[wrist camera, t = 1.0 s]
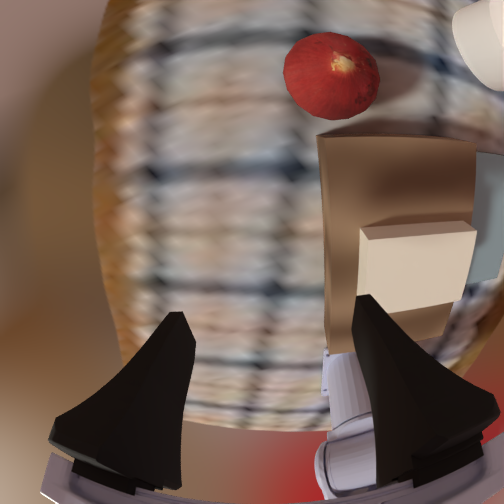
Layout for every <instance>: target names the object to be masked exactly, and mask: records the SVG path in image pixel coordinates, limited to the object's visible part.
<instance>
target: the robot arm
mask: <svg viewBox="0 0 504 504" xmlns="http://www.w3.org/2000/svg"><path fill="white" fill-rule="evenodd" d="M351 331H352V336H353V342H354V347H355V351H356V352H349V353H341V354H332V355H329V353H328V347H327V348H325V349H324V355H323V372H322V387H321V395H322V396H329V403H330V413H331V424H332V431H329V432H327V441H325V442H323V443H321V445H320V447H319V448H318V450H317V452H316V455H315V473H316V478H317V481H318V484H319V486H320V488H321V489H322V491H323V494H324V497H325V500H321V501H314V502H304V503H291V504H482V503H483V502H485V501H486V500H487V499H489V498H490V497H492V496H493V495H494V494H496V493H497V492H498V491H500V490H501V489H502V488H504V432H503V433H501V434H499V435H498V436H496V437H495V438H493V439H492V440H490V441H489V442H487V443H485V444H483V445H482V446H481V443H480V441H481V440H482V439H483V435H482V431H483V430H484V429H485V428H487V427H488V426H489V425H490V424H492V423H493V422H494V421H495V420H496V419H497V418H498V417H499V415H500V409H499V407H498V404H497V402H496V399H495V397H494V395H493V394H492V393H489V392H487V391H485V390H483V389H481V388H479V387H477V386H474V385H473V384H471V383H469V382H468V381H466V380H464V379H462V378H461V377H459V376H458V375H456V374H455V373H453V372H452V371H450V370H449V369H447V368H446V367H444V366H443V365H442V364H440V363H439V362H438V361H436V360H435V359H434V358H433V357H431V356H430V355H429V354H428V353H427V352H425V351H424V350H423V349H422V348H421V347H420V346H419V345H418V344H417V343H416V342H414V341H413V340H412V339H411V338H410V337H409V336H408V335H407V334H406V333H405V332H404V331H403V330H402V329H401V327H400V326H399V325H398V324H397V323H396V322H395V321H394V320H393V319H392V318H391V317H390V316H389V315H388V313H387V312H386V311H385V310H384V309H383V308H382V307H381V306H380V304H379V303H378V302H377V301H376V300H375V299H374V298H373V296H372V295H371V294H365V295H358V296H356V300H355V307H354V314H353V320H352V327H351ZM195 348H196V341H195V339H194V336H193V334H192V332H191V330H190V327H189V325H188V323H187V321H186V318H185V316H184V314H183V311H182V312H169V314H168V315H167V316H166V317H165V318H164V320H163V321H162V322H161V324H160V325H159V326H158V327H157V329H156V330H155V331H154V332H153V334H152V335H151V336H150V338H149V339H148V340H147V341H146V343H145V344H144V345H143V346H142V347H141V349H140V350H139V351H138V352H137V353H136V354H135V356H134V357H133V358H132V359H131V360H130V361H129V362H128V364H127V365H126V366H125V367H124V368H123V369H122V370H121V371H120V372H119V373H118V374H117V375H116V376H115V377H114V378H113V379H111V380H110V381H109V382H108V383H107V384H106V385H105V386H103V387H102V388H101V389H100V390H99V391H97V392H96V393H95V394H94V395H92V396H91V397H89V398H88V399H87V400H85V401H84V402H82V403H81V404H79V405H78V406H76V407H74V408H73V409H71V410H69V411H67V412H66V413H64V414H62V415H60V416H58V417H56V419H55V422H54V425H53V427H52V430H51V433H50V435H49V438H48V441H49V443H51V444H52V445H53V446H55V447H57V448H58V449H60V450H61V451H63V452H64V453H66V454H68V455H70V456H71V457H74V458H75V460H74V463H73V462H71V461H69V460H67V459H65V458H63V457H61V456H59V455H57V454H55V453H53V452H52V453H51V455H50V458H49V461H48V465H47V468H46V471H45V475H44V479H43V482H42V486H41V490H40V492H41V494H43V495H44V496H46V497H47V498H49V499H50V500H52V501H54V502H55V503H57V504H232V503H220V502H210V501H202V500H195V499H188V498H182V497H177V496H172V495H167V494H162V493H157V492H154V490H155V489H158V490H163V488H167V489H172V490H177V489H179V488H180V487H182V482H181V431H182V420H183V411H184V405H185V401H186V396H187V392H188V387H189V383H190V379H191V374H192V370H193V365H194V359H195ZM327 354H328V355H327Z"/></svg>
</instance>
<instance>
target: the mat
mask: <svg viewBox="0 0 504 504" xmlns="http://www.w3.org/2000/svg"><path fill="white" fill-rule="evenodd" d="M471 227H473V228H474V229H475V230H477V235H476V240H475V245H474V250H473V255H472V260H471V264H470V268H469V272H468V276H467V280H466V284H471V283H476V282H481V281H485V280H490V279H494V278H497V276H498V272H499V269H500V265H501V261H502V257H503V253H504V155H498V154H491V153H483V152H476V182H475V196H474V206H473V214H472V222H471ZM466 284H465V285H466Z"/></svg>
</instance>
